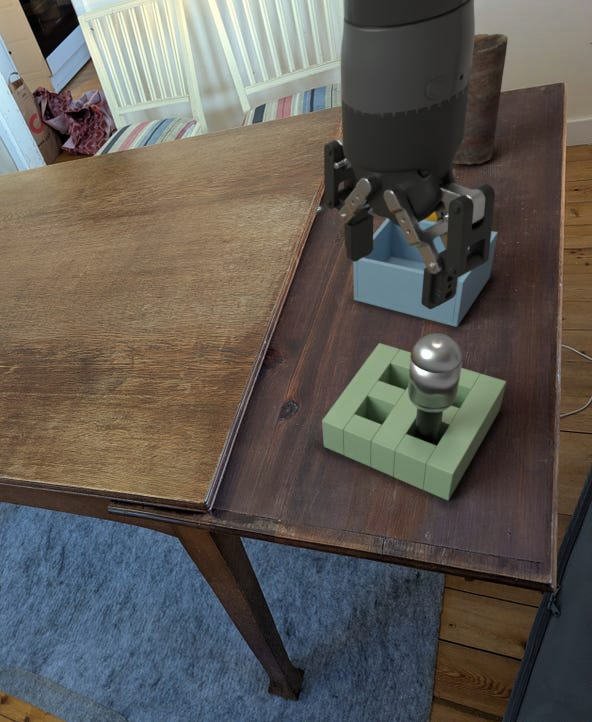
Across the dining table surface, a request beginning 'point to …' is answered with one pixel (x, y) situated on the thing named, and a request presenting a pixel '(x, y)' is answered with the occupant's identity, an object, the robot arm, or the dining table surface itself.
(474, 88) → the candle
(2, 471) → the dining table surface
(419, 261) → the tub
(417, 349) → the microphone
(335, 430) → the rack
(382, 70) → the robot arm
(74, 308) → the dining table surface
